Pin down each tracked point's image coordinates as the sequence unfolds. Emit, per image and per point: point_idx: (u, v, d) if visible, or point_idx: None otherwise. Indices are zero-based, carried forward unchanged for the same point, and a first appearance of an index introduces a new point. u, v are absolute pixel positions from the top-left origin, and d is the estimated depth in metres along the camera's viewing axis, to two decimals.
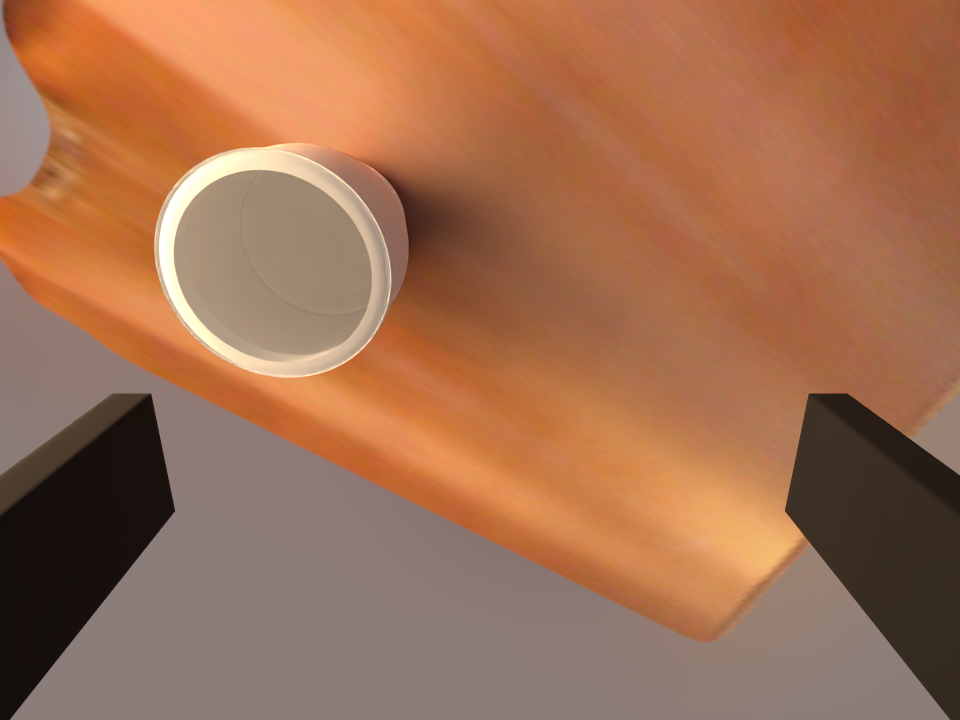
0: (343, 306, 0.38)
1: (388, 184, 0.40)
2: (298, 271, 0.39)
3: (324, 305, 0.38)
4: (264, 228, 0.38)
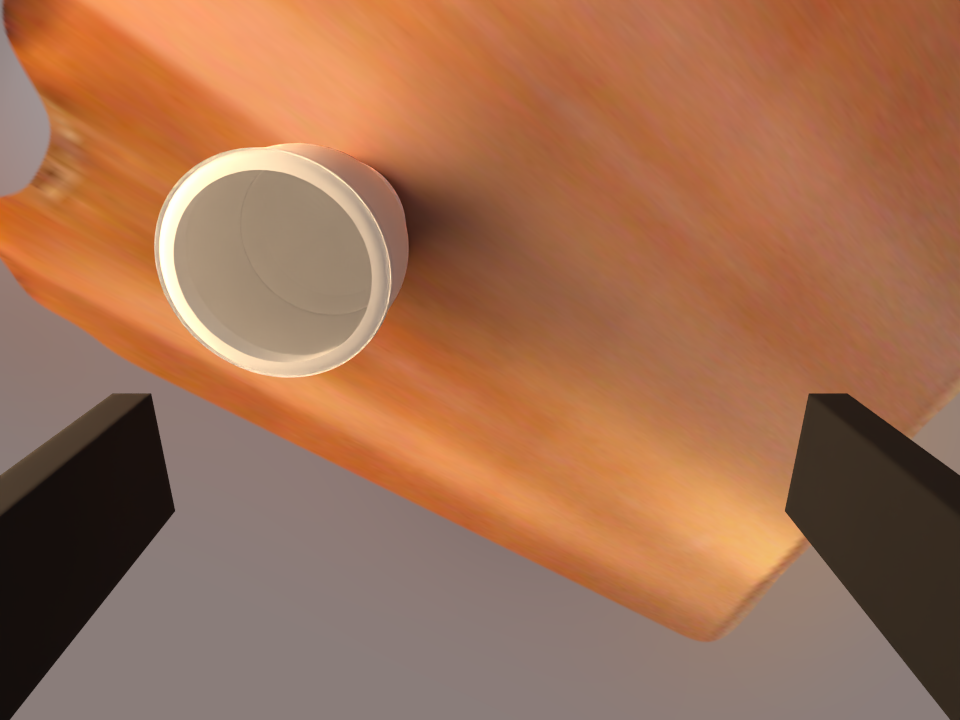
0: (343, 306, 0.38)
1: (388, 184, 0.40)
2: (298, 271, 0.39)
3: (324, 305, 0.38)
4: (264, 228, 0.38)
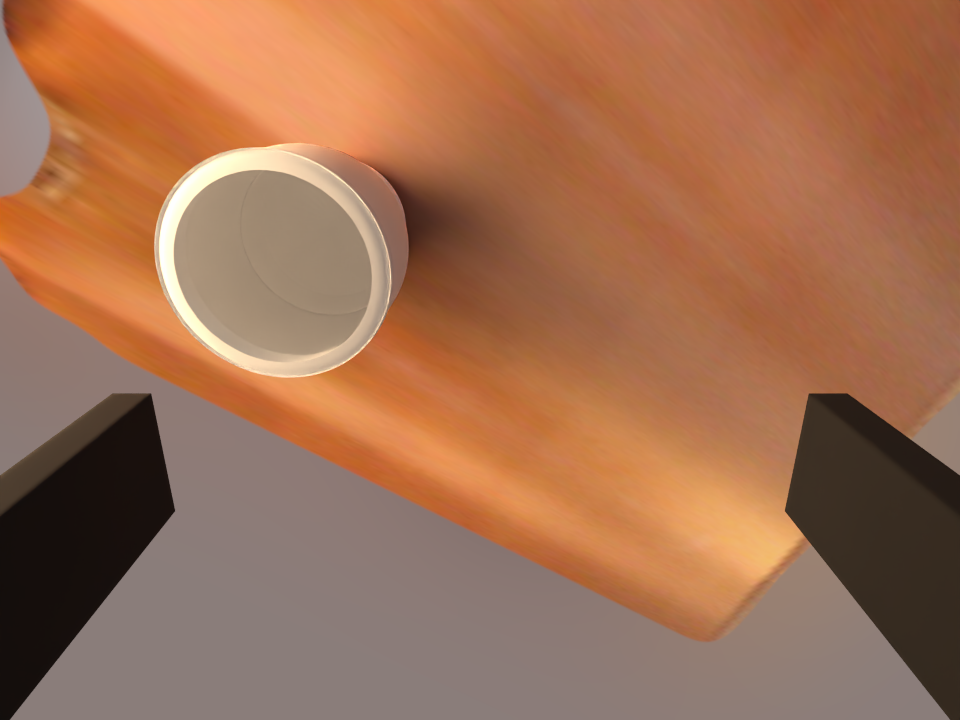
0: (343, 306, 0.38)
1: (388, 184, 0.40)
2: (298, 271, 0.39)
3: (324, 305, 0.38)
4: (264, 228, 0.38)
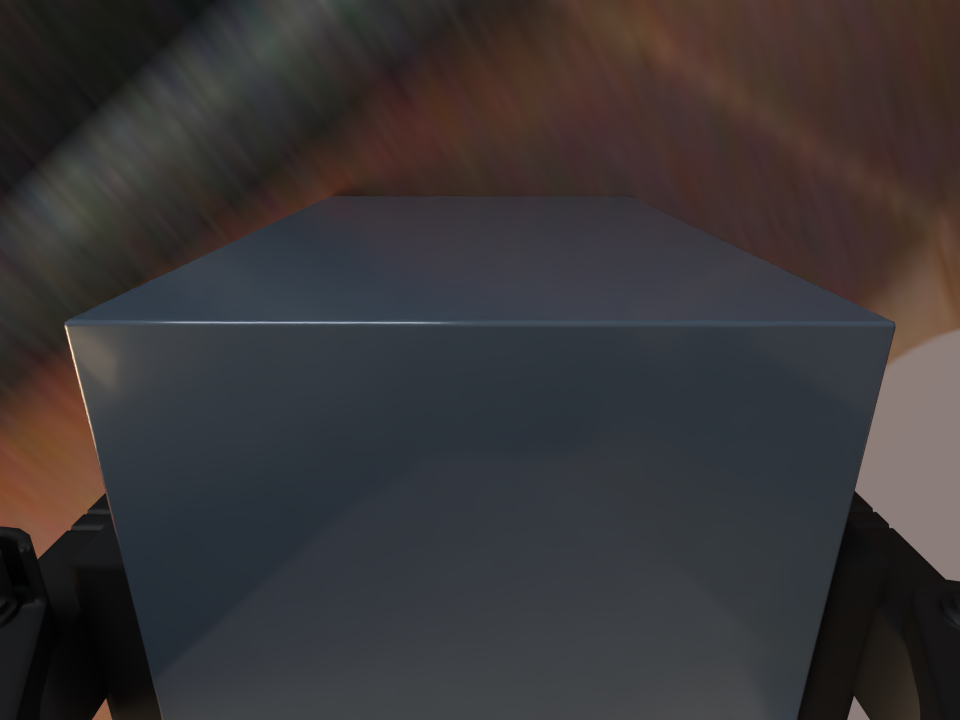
0: None
1: None
2: None
3: None
4: None
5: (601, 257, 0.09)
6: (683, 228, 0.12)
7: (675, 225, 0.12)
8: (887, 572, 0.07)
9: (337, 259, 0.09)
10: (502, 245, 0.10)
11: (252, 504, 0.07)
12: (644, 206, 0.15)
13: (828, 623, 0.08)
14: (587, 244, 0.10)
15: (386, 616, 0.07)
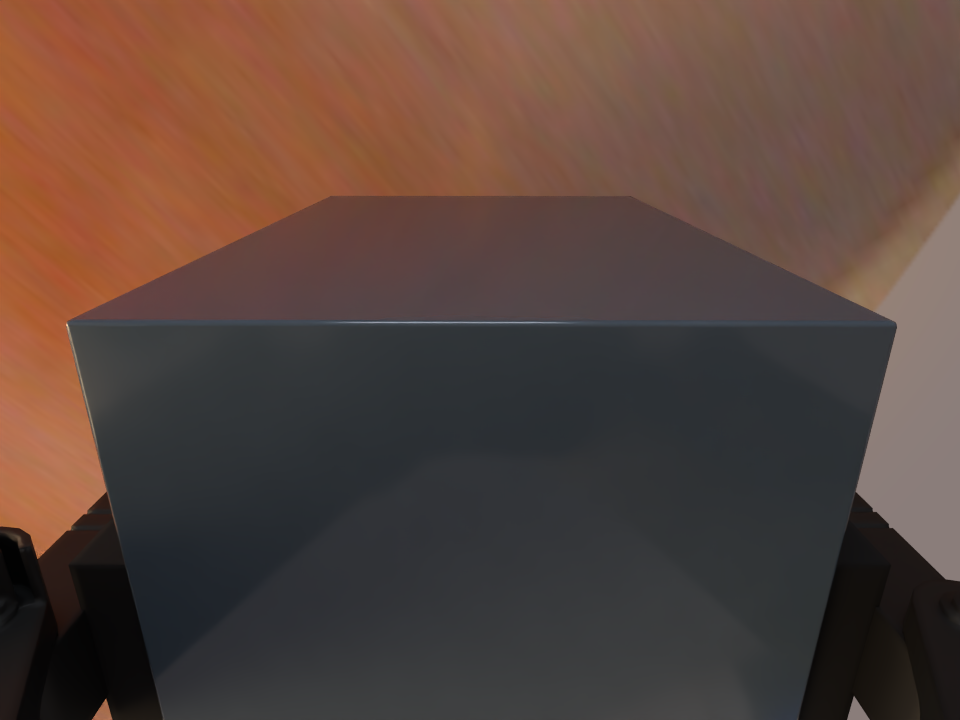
0: None
1: None
2: None
3: None
4: None
5: (602, 257, 0.09)
6: (684, 228, 0.12)
7: (676, 225, 0.12)
8: (887, 572, 0.07)
9: (338, 259, 0.09)
10: (503, 245, 0.10)
11: (253, 504, 0.07)
12: (645, 206, 0.15)
13: (828, 623, 0.08)
14: (588, 244, 0.10)
15: (388, 617, 0.07)
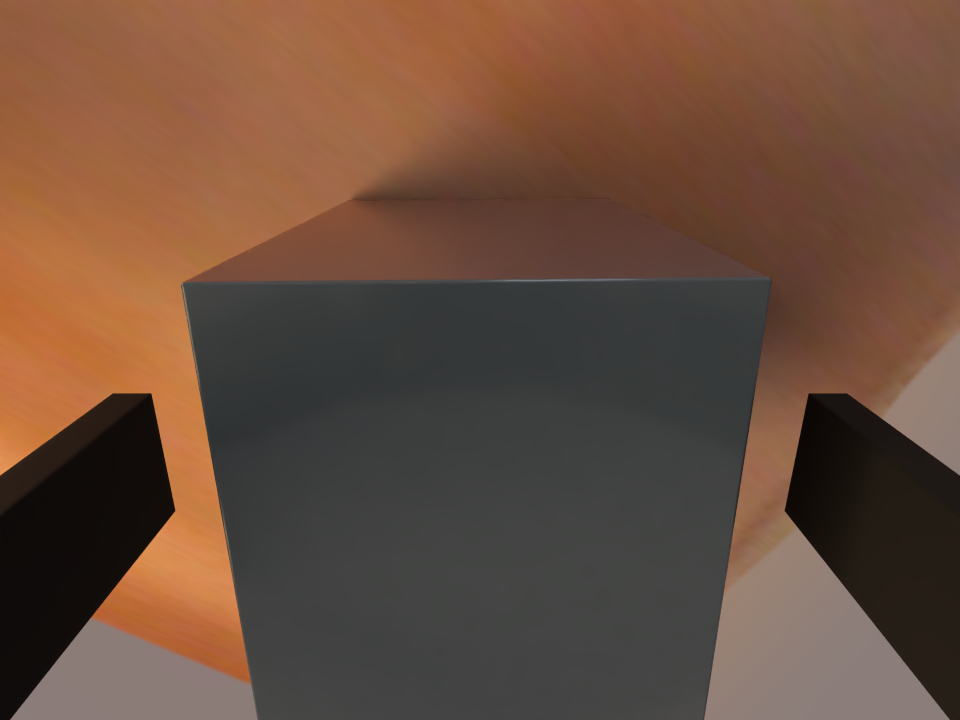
0: None
1: None
2: None
3: None
4: None
5: (572, 241, 0.12)
6: (644, 221, 0.14)
7: (639, 219, 0.15)
8: None
9: (366, 245, 0.12)
10: (495, 234, 0.13)
11: (310, 419, 0.09)
12: (618, 205, 0.17)
13: None
14: (563, 233, 0.13)
15: (408, 508, 0.10)
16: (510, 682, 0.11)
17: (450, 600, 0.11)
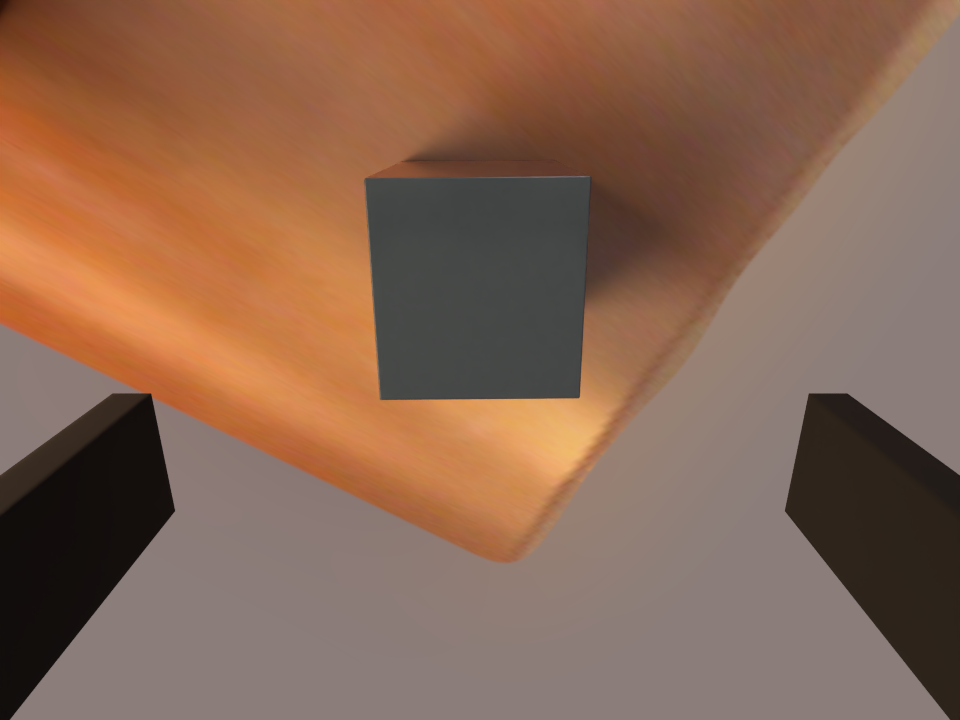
0: None
1: None
2: None
3: None
4: None
5: (521, 170, 0.26)
6: (562, 166, 0.28)
7: (560, 165, 0.29)
8: None
9: (427, 171, 0.26)
10: (486, 169, 0.27)
11: (410, 236, 0.23)
12: (556, 162, 0.31)
13: None
14: (518, 169, 0.27)
15: (449, 277, 0.24)
16: (492, 365, 0.25)
17: (466, 322, 0.25)
